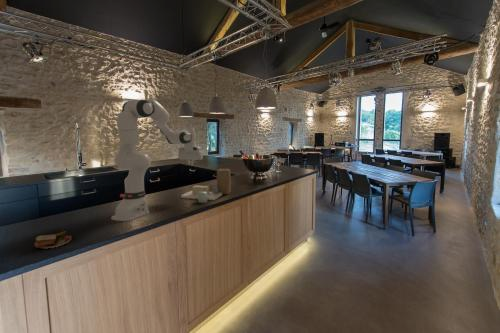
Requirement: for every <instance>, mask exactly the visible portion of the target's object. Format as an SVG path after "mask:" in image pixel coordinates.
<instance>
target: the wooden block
mask: <svg viewBox="0 0 500 333" xmlns="http://www.w3.org/2000/svg"><path fill="white" fill-rule="evenodd" d="M231 174H232V173H231V168H218V169H217V170H216V187H219V192H220V193H222V195H229V194H230V193H231V191H232V184H231V183H232V180H231V179H232V178H231V177H232V176H231Z"/></svg>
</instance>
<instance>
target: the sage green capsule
mask: <svg viewBox="0 0 500 333" xmlns="http://www.w3.org/2000/svg"><path fill="white" fill-rule="evenodd" d="M197 203H200V204H203V203H204V204H205V203H208V200H207V192H206V191H200V192H198V199H197Z"/></svg>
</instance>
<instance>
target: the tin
mask: <svg viewBox="0 0 500 333" xmlns="http://www.w3.org/2000/svg"><path fill="white" fill-rule="evenodd" d="M212 192H213V194H218V193H219V187H217V186H213V187H212Z"/></svg>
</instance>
